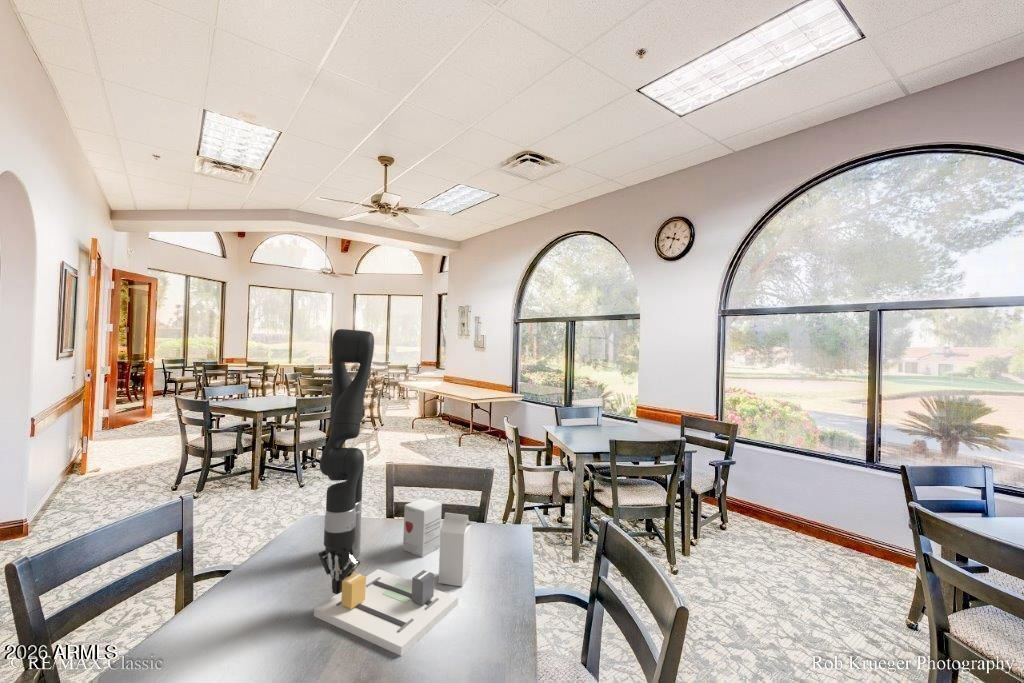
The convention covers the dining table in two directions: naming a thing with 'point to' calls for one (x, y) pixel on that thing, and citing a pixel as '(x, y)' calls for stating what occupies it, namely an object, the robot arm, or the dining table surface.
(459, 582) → the milk carton
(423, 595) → the fader charcoal
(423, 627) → the board
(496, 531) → the dining table surface
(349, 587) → the fader amber
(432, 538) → the supplement box
